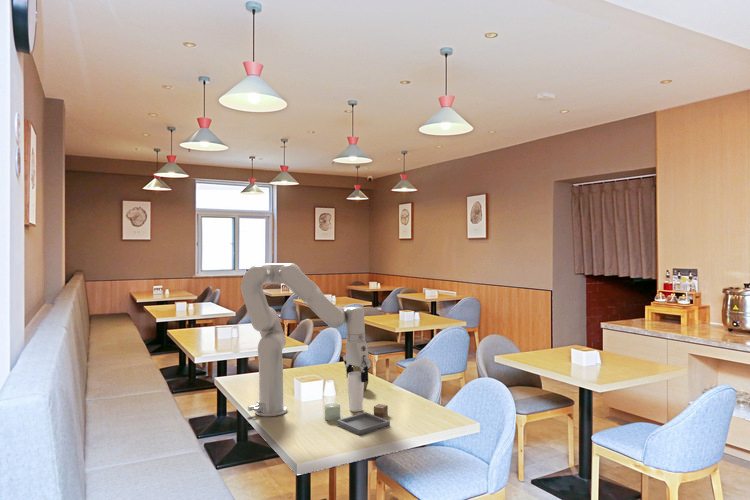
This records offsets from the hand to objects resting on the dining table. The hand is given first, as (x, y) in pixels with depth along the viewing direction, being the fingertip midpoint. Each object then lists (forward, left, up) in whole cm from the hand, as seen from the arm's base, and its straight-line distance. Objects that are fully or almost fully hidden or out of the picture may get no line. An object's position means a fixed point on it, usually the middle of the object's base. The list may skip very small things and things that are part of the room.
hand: (357, 379), depth 204 cm
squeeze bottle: (+19, +23, -13) cm, 33 cm away
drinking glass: (-1, 0, -13) cm, 13 cm away
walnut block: (+2, -12, -13) cm, 17 cm away
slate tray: (-10, -16, -13) cm, 22 cm away
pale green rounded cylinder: (-14, -2, -13) cm, 19 cm away
